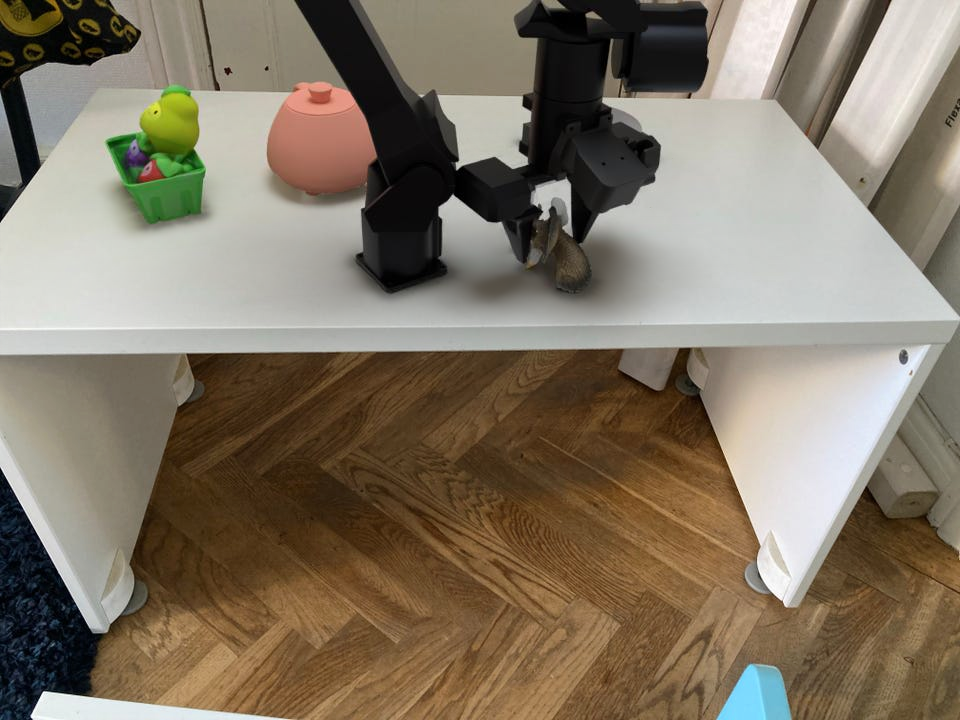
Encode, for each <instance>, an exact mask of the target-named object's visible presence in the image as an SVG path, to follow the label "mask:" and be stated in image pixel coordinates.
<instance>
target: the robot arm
mask: <svg viewBox="0 0 960 720" xmlns="http://www.w3.org/2000/svg"><path fill="white" fill-rule="evenodd" d="M293 1H294V3H295V4H296V6H297V8H298V9H299V12H300V13H301V15H302V16H303V18H304V19H305V21H306V23H307V24H308V26H309V28H310V29H311V31H312V33H313V34H314V36H315V37H316V39H317V41H318V42H319V44H320V46H321V47H322V49H323V50H324V52H325V54H326V56H327V57H328V59H329V60H330V62H331V64H332V65H333V67H334V69H335V70H336V72H337V74H338V76H339V77H340V78H341V80H342V83H344V85H345V87H346V88H347V91H349V92H350V93H351V95H352V97H353V98H354V100H355V101H356V103H357V105H358V106H359V108H360V110H361V111H362V113H363V115H364V116H365V119H366V121H367V124H368V127H369V131H370V134H371V137H372V141H373V144H374V148H375V151H376V155H377V157H376V158H375V159H374V160H373V161H372V162H371V163H370V164H369V165H368V167H367V182H366V183H365V197H364V207H362V208H360V219H361V220H360V222H361V235H362V236H361V238H362V251H361V252H358V253H356V254H355V261H356V262H357V263H358V264H359V266H361V267H362V268H363V270H365V272H367V273H368V274H369V276H370V277H372V279H374V281H376V283H377V284H379V286H381V288H382V289H384V291H386V292H388V293H392V292H396V291H399V290H401V289H404V288H407V287H409V286H414V285H416V284H418V283H421V282H424V281H427V280H430V279H433V278H437V277H439V276H442V275H445V274H447V273H448V265H447V264H446V263H444V261H443V260H441V259H440V258H441V257H442V255H443V220H444V219H443V218H442V217H441V216H440V215H439V214H440V207H441V206H443V205H444V204H445V203H448V201H449V200H450V199H451V198H452V196H454V197H455V198H456V199H457V200H459V201H460V202H461V203H463V205H465V206H466V207H468V208H469V210H471V211H473V212H474V213H475V214H476V215H478V216H479V217H480V218H482V219H483V220H484V221H486V222H487V223H492V224H493V223H494V224H498V223H501V225H502V227H503V229H504V232H505V234H506V236H507V239H508V242H509V244H510V246H511V249H512V252H513V254H514V256H515V258H516V260H517V261H518V262H519V263H520V264H522V265H527V264H528V261H529V256H530V253H531V242H532V241H531V235H532V226H533V220H534V219H535V218H537V217H538V216H540V215H541V214H542V215H543V213H544V210H543V209H542V210H541V209H540V208H538V206H537V205H536V204H534V203H535V194H536V190H537V189H539V188H542V187H546V186H549V185H552V184H555V183H558V182H562V181H565V180H567V182H568V183H569V184H570V227H571V236H572V237H573V238H574V239H575V240H576V241H577V242H578V244H579V245H581V244H584V242H585V240H586V238H587V236H588V235H589V233H590V231H591V229H592V228H593V225H594V224H595V222H596V220H597V218H598V217H599V214H605V213H607V212H609V211H611V210H612V209H616V208H618V207H622V206H629V205H631V204H632V203H633V202H634V200H635V198H636V196H637V195H638V193H639V191H640V190H641V188H643V187H646V186H648V185H652V184H654V183H656V173H657V171H658V169H659V167H660V162H661V151H662V145H661V143H659V141H658V140H657V139H656V138H655V137H654V136H653V135H652V134H648V135H649V136H646V135H644V134H642V133H641V132H639V131H637V130H635V129H634V128H632V127H630V126H628V125H626V124H625V123H623V122H621V121H620V122H617V123H613V124H612V121H613V114H611V112H612V108H611V107H612V106H609V105H608V104H606V103H604V102H603V100H604V93H605V85H606V78H607V71H608V64H609V57H610V69H611V75H612V78H613V79H614V80H621V81H622V86H623V89H624V91H625V92H627V93H658V94H660V93H662V94H663V93H664V94H668V93H670V94H679V93H680V94H696V93H698V92H699V91H700V89H701V88H702V86H703V84H704V82H705V80H706V77H707V73H708V68H709V65H710V58H709V57H708V53H709V51H708V49H709V38H708V37H709V36H708V28H707V20H708V15H709V10H708V8H706V7H707V6H705V5H704V4H703V3H702V1H700V0H684V1H679V2H673V3H672V2H641V1H640V0H556V1H557V2H558V3H559V4H560V5H561V6H562V7H549V6H547V5H546V4H545V2H543V0H531V1H530V3H529V4H528V5H526V6H525V7H524V8H522V9H521V10H520V11H519V12H517V13H516V14H514V16H513V22H514V26H515V29H516V32H517V35H518V37H519V38H520V39H521V38H522V39H536V40H537V42H536V51H535V52H536V53H535V64H534V75H533V76H534V77H533V90H532V92H528V93H524V94H522V102H521V107H522V108H524V109H526V110H527V111H529V112H530V121H529V122H530V133H529V138H528V139H524V140H522V139H521V140H519V141H518V153H520V154H521V155H523V156H524V157H526V158H527V164H525V165H522V166H518V167H514V168H513V167H511V166H509V165H508V164H507V163H505V162H504V161H502V160H500V159H499V158H498V157H496V156H491V157H488V158H484V159H481V160H478V161H473V162H471V163H467V164H463V165H461V166H460V167H458V168H457V163H459V162H460V154H459V146H458V145H459V144H458V136H457V127H456V124H455V123H454V122H453V121H451V120H450V119H449V118H448V117H447V115H446V114H445V112H444V111H443V108H442V106H441V103H440V99H439V95H438V94H437V91H436V89H435V88H434V89H431V90H429V91H428V92H427V93H425V94H424V95H422V96H420V95H419V94H418V92H416V91H414V90H413V89H412V88H411V87H410V86H409V85H408V84H407V83H406V81H405V80H404V78H403V77H402V75H401V73H400V71H399V70H398V67H397V65H396V64H395V62H394V60H393V58H392V57H391V55H390V53H389V52H388V50H387V47H386V46H385V44H384V43H383V41H382V39H381V37H380V36H379V34H378V32H377V30H376V28H375V26H374V24H373V23H372V21H371V19H370V17H369V15H368V13H367V11H366V10H365V8H364V6H363V4H362V3H361V1H360V0H293ZM590 13H594V14H595V15H597V16H598V17H599V18H593V17H589V16H587V14H590ZM611 43H612V44H611ZM610 49H611V53H610ZM542 215H541V216H542ZM541 216H540V217H541Z"/></svg>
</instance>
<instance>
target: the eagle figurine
mask: <svg viewBox="0 0 960 720" xmlns="http://www.w3.org/2000/svg"><path fill="white" fill-rule="evenodd" d="M537 207H538V208H540V209H541V210H543V205H542V204H541V203H538V206H537ZM542 215H543V213H542V214H541V215H540V216H538V217H537V218H535V219H534V220H533V226H532V235H531V242H532V246H531V249H530V252H529V256H528V260H527V263H526V265H525V269H530V268H531V267H532V266H535V265H537V263H538V262H539V261H540V259H541V258H542V261H541V262H542V263H543V264H545V262H546V261H547V259H548V255H549V253H550V254H551V255H552V256H553V258H554V263H555V269H556V271H555V272H556V273H555V285H556V288H558V289H561V290H562V291H563V292H567V291H568V292H569V293H572V294H574V293H580V292H581V290H583V289H585V288H586V284H587V285H588V284H589V283H590V282H589V281H590V280H591V279H592V265H591V264H590V261H589V260H590V259H588V256H587V255H586V252H585V250H584V249H583V247H582V246H581V244H578V242H577V241H576V240H575V239H574V238H573V236H572V235H570V234H569V232H566V230H565V229H563V228H564V227H565V226H567V225H568V224H569V220H570V219H569V213H568V207H567V205H566V201H564V200H563V199H562V198H561V197H559V196H554V197H553V198H551V203H550V207H549V208H548V215H549V217H548V218H547V219H544V218H541V216H542ZM540 218H541V219H540Z"/></svg>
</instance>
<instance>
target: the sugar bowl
mask: <svg viewBox="0 0 960 720" xmlns="http://www.w3.org/2000/svg"><path fill="white" fill-rule="evenodd" d="M376 157H377V155H376V151H375V148H374V144H373V141H372V137H371V134H370V131H369V127H368V124H367V121H366V119H365V116H364V115H363V113H362V111H361V110H360V108H359V106H358V105H357V103H356V101H355V100H354V98H353V97H352V95H351V93H350V92H349V90H346V89H343V88H341V87H340V88H339V87H334V86H333V85H332V84H331V83H329V82H326V81H314V82H311V83H309V82H307V81H306V82H299V83H297V84H295V85H294V86H293V89H292V93H290V94H289V95H288V96H287V97H286V98H285V99H284V101H283V103H282V104H281V105H280V107H279V108H278V111H277V113H276V114H275V117H274V119H273V121H272V124H271V126H270V129H269V132H268V136H267V143H266V160H267V164H268V166H269V168H270V171H272V173H273V174H274V175H275V176H277V178H279V179H280V180H281V181H282V182H283V183H285V184H286V185H288V186H289V187H291V188H293V189H295V190H298V191H301V192H304V193H305V195H307V196H311V197H316V196H320V195H322V194H335V193H337V194H338V193H343V192H347V191H350V190H354V189H356V188H360V187H363V186H366V182H367V167H368V165H369V164H370V163H371V162H372V161H373V160H374V159H375V158H376Z"/></svg>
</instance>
